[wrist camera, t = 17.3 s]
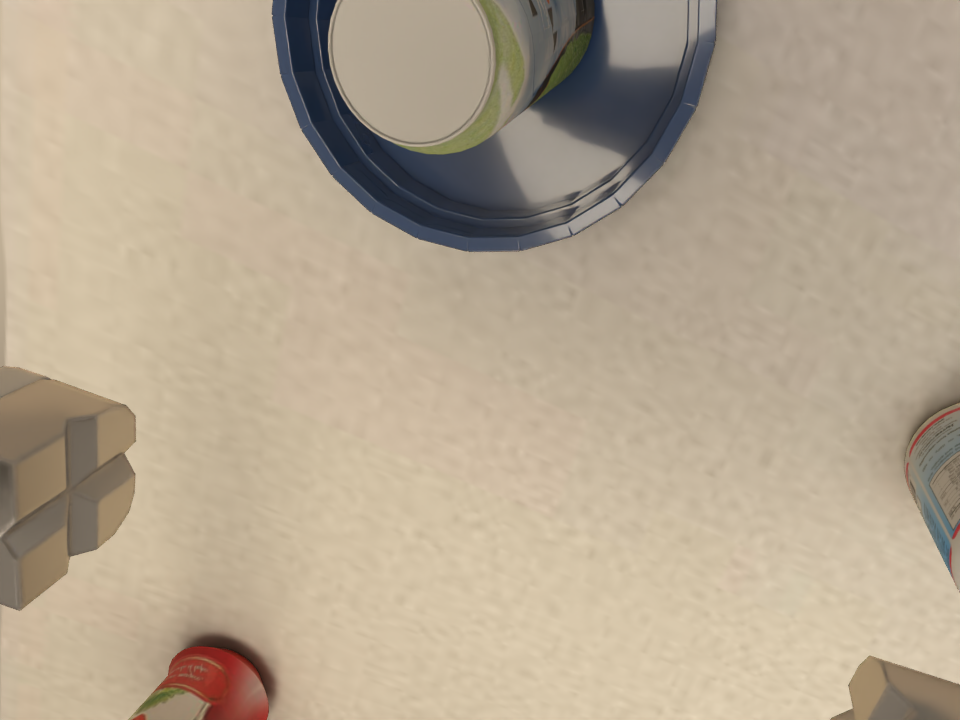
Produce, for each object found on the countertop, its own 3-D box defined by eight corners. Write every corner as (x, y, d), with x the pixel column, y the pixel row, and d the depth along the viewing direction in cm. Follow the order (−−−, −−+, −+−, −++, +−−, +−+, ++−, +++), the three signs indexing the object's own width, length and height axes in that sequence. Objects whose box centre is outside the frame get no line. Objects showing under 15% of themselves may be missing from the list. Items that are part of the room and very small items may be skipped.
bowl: (347, -236, 30) (292, -281, 26) (774, -169, 28) (786, -208, 24) (306, 182, 37) (257, 198, 33) (649, 268, 34) (642, 297, 30)
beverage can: (619, -47, 30) (571, -105, 19) (563, 147, 33) (493, 192, 22) (463, -89, 31) (331, -167, 20) (422, 104, 34) (288, 128, 23)
